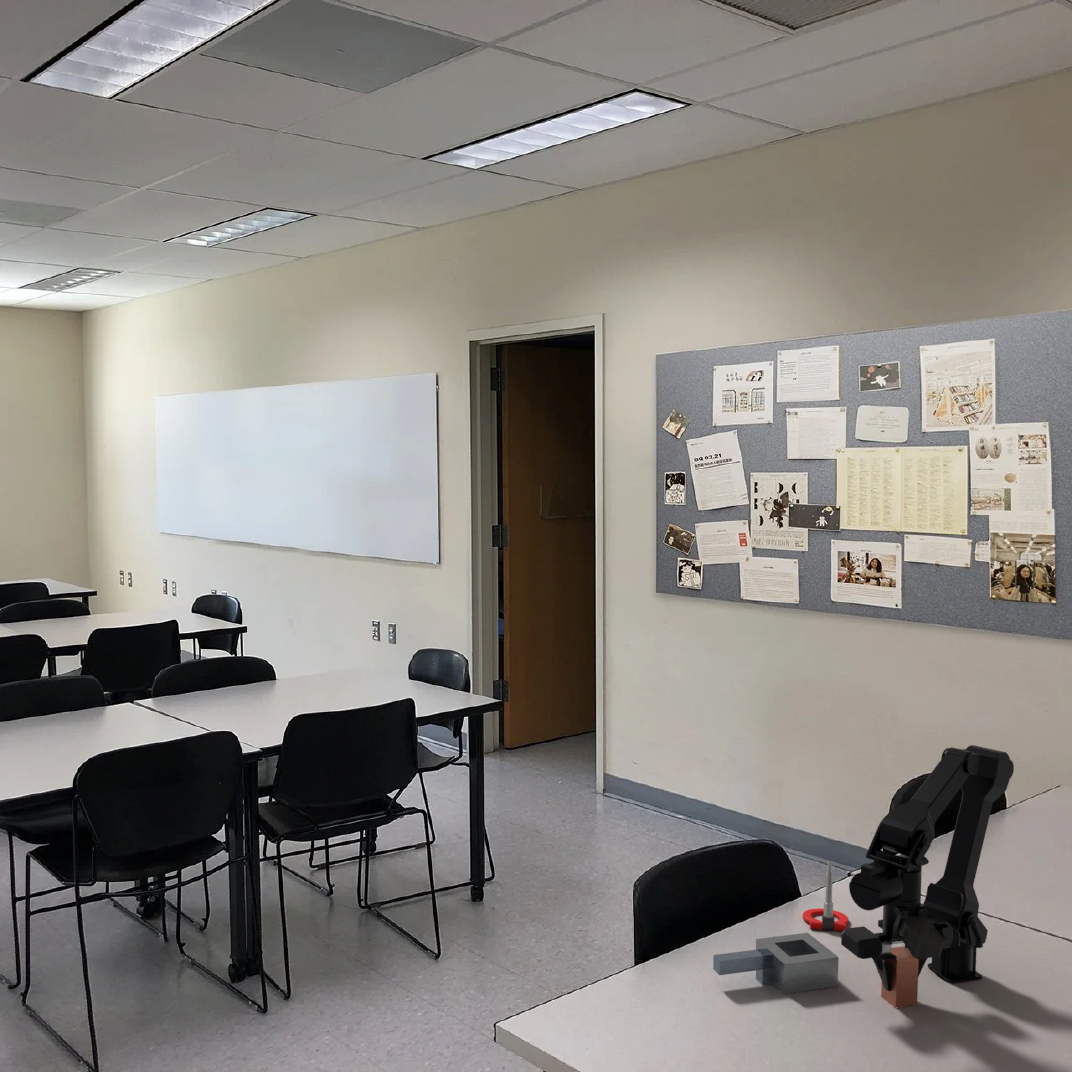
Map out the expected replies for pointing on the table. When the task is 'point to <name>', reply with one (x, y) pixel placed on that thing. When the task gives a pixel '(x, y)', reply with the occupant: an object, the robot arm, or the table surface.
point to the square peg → (902, 979)
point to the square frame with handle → (784, 963)
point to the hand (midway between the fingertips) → (899, 988)
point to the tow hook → (827, 910)
